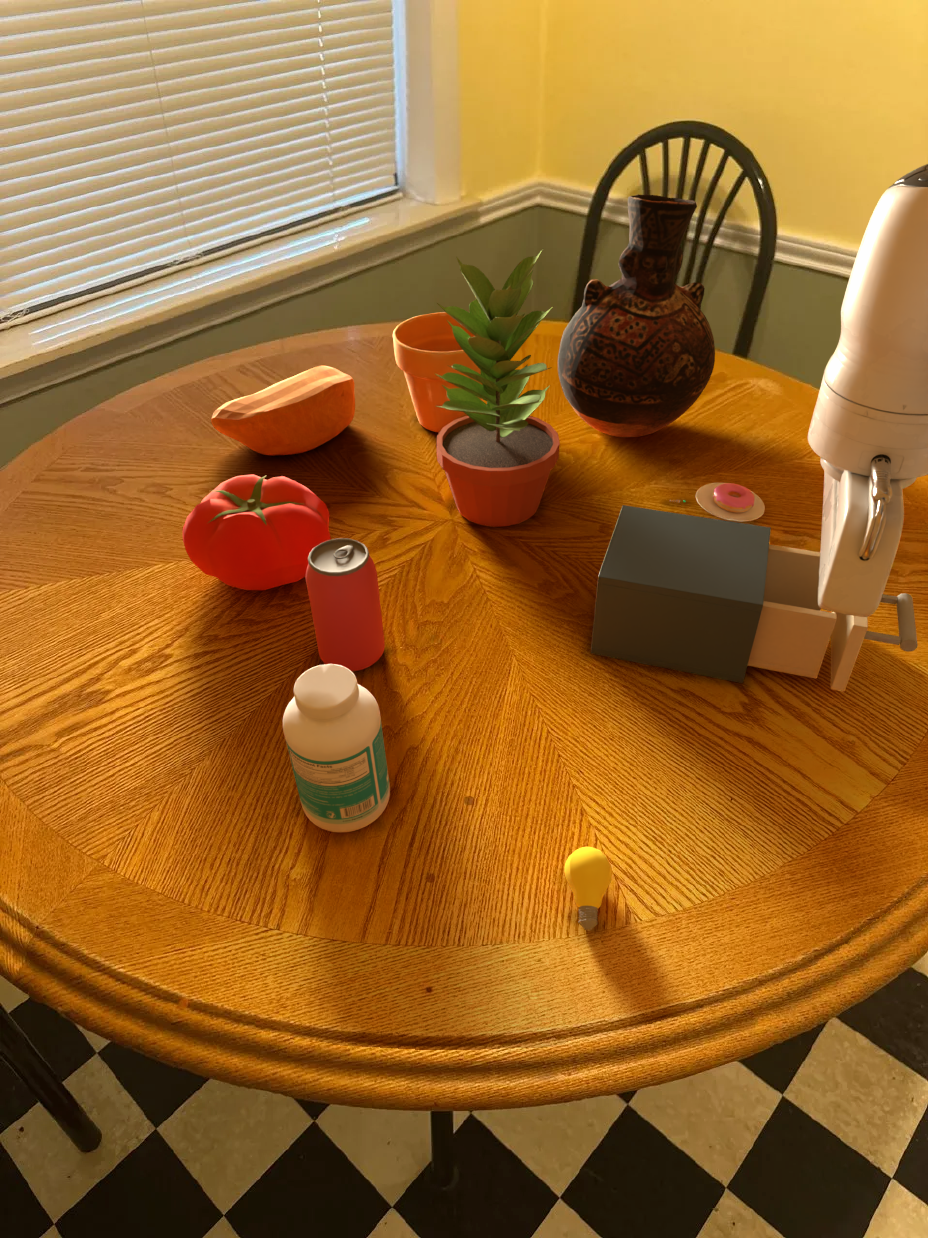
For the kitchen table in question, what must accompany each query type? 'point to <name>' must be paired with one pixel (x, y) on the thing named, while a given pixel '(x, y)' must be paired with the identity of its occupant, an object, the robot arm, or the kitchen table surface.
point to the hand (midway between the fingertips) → (829, 587)
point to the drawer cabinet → (681, 592)
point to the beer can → (345, 604)
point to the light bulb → (588, 882)
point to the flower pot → (430, 365)
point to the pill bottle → (336, 749)
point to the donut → (730, 502)
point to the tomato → (256, 531)
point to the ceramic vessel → (640, 331)
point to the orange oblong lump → (291, 413)
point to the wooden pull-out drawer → (814, 622)
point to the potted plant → (496, 407)
